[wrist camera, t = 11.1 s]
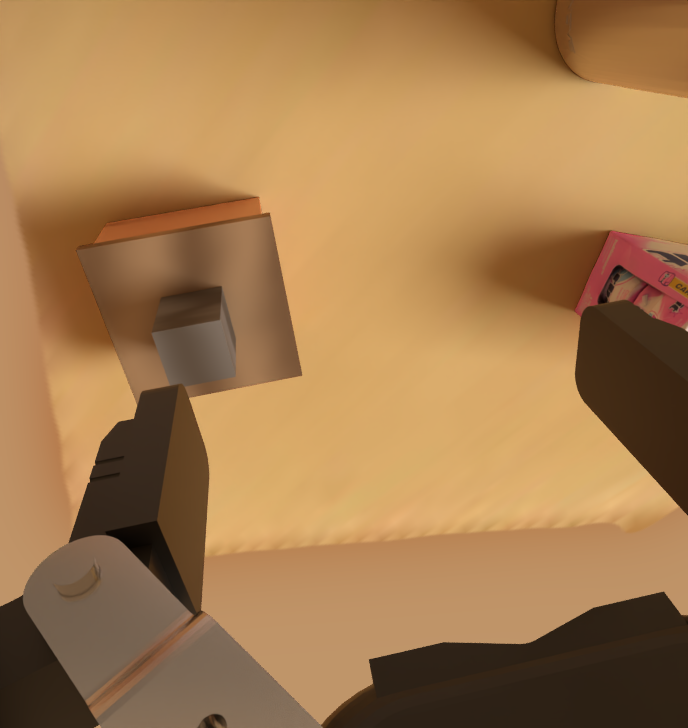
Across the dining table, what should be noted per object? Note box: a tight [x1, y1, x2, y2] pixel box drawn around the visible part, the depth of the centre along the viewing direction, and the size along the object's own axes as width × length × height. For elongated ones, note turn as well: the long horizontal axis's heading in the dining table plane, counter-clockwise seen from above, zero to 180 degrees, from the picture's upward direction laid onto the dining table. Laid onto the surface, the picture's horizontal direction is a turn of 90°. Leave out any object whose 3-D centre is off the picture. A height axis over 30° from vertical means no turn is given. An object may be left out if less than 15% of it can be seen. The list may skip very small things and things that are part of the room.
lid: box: [76, 213, 302, 405], centre depth 37 cm, size 12×12×6 cm
